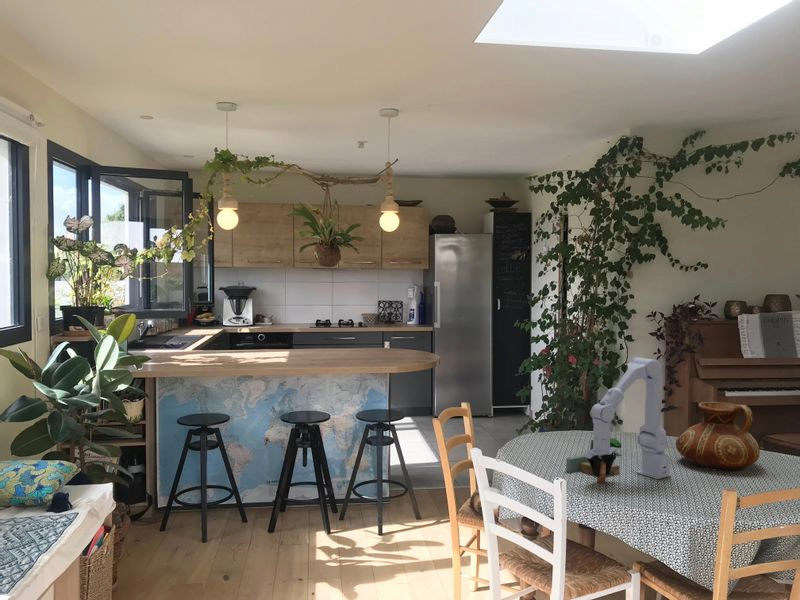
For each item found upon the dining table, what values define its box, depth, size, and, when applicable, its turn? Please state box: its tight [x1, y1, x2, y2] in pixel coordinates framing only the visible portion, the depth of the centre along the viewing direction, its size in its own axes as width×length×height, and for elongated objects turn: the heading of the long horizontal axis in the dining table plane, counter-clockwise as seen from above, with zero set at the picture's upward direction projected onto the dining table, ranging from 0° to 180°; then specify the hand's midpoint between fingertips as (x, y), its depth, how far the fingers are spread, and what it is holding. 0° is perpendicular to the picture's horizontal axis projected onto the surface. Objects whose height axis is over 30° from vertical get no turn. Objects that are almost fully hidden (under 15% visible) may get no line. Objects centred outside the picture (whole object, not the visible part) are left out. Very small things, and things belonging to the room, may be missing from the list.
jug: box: [675, 401, 761, 472], centre depth 259 cm, size 30×30×25 cm
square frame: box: [579, 461, 620, 477], centre depth 247 cm, size 10×10×3 cm
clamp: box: [589, 437, 622, 456], centre depth 274 cm, size 12×6×9 cm, turn 99°
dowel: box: [596, 462, 607, 484], centre depth 235 cm, size 3×3×7 cm
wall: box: [565, 454, 602, 474], centre depth 253 cm, size 2×20×5 cm, turn 122°
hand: (601, 475), depth 235 cm, fingers open, 5 cm apart
